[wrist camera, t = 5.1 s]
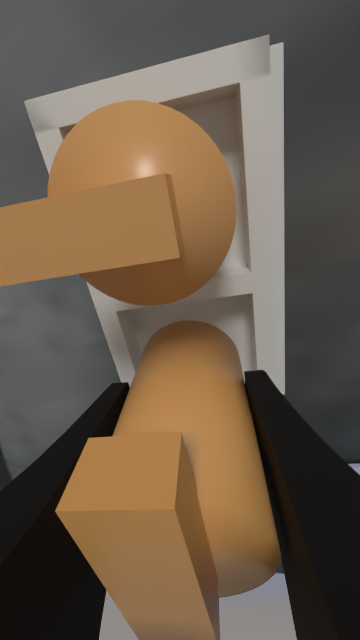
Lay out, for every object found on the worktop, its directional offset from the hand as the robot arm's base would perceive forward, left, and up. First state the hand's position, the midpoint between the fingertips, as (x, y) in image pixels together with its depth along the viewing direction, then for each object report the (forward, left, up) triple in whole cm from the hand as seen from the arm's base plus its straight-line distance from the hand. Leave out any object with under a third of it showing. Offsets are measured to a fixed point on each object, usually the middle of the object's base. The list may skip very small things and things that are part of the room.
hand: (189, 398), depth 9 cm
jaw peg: (0, 0, -2) cm, 2 cm away
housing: (+3, 0, -5) cm, 6 cm away
